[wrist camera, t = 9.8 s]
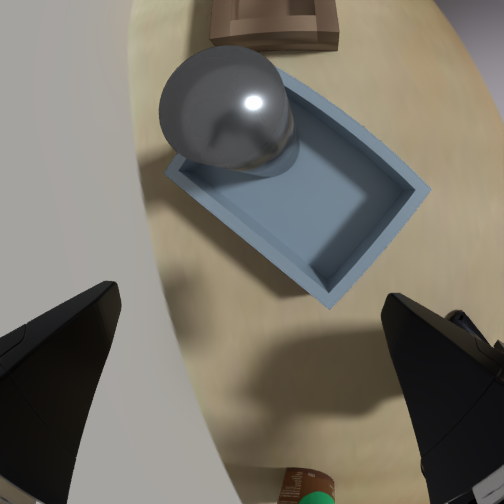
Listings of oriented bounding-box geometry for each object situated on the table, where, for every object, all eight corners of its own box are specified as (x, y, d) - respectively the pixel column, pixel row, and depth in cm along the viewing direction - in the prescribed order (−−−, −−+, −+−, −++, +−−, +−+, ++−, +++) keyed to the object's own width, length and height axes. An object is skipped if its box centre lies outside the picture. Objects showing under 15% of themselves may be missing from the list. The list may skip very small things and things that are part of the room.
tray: (414, 189, 18) (431, 189, 15) (328, 291, 21) (329, 310, 18) (263, 73, 19) (252, 54, 15) (185, 175, 22) (163, 173, 18)
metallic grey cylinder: (311, 134, 18) (309, 73, 8) (280, 188, 19) (242, 189, 9) (255, 106, 18) (198, 32, 8) (225, 158, 20) (139, 134, 9)
